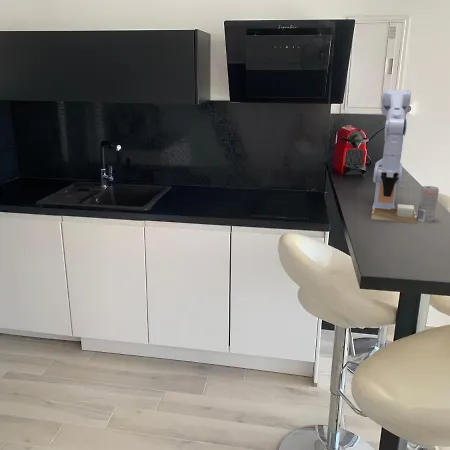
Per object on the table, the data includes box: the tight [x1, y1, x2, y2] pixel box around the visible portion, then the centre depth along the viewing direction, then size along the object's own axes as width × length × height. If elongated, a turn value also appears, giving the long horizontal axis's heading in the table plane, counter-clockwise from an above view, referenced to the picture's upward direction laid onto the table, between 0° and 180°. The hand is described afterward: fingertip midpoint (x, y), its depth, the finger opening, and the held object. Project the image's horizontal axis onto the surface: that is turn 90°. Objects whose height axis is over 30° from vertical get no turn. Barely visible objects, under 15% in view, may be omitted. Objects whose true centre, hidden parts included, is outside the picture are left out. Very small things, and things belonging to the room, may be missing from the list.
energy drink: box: [416, 185, 440, 224], centre depth 155 cm, size 5×5×12 cm
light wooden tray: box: [371, 207, 418, 225], centre depth 159 cm, size 9×14×3 cm, turn 70°
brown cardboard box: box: [378, 182, 395, 203], centre depth 157 cm, size 5×5×6 cm
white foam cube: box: [396, 203, 415, 217], centre depth 157 cm, size 5×5×4 cm
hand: (387, 194), depth 157 cm, fingers closed on brown cardboard box, 5 cm apart
